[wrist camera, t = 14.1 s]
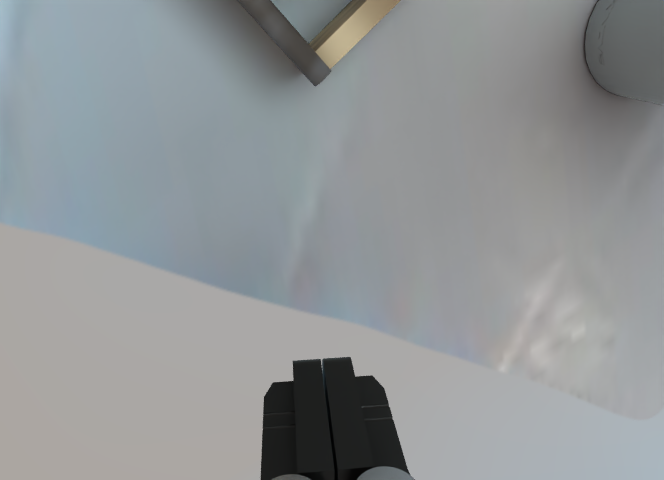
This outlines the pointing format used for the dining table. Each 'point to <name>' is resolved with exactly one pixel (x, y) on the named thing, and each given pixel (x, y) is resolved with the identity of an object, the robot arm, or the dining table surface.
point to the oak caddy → (330, 43)
